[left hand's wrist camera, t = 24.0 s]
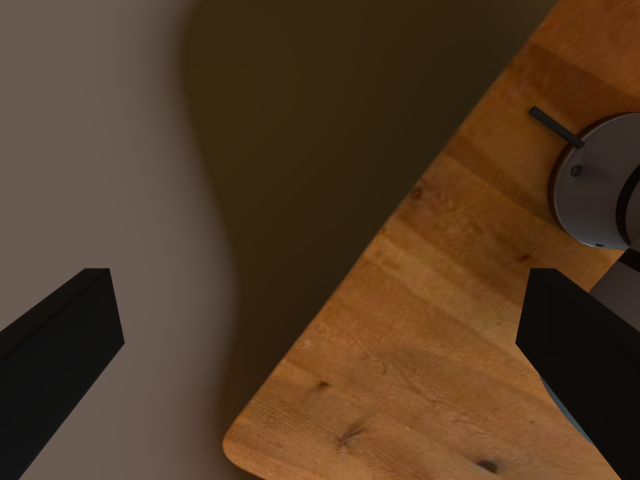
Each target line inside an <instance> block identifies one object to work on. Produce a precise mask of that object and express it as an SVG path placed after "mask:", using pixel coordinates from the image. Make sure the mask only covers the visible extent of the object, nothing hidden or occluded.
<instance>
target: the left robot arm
mask: <svg viewBox="0 0 640 480" xmlns="http://www.w3.org/2000/svg"><path fill="white" fill-rule="evenodd" d="M529 113H530V114H531V115H532V116H534V117H535V118H536V119H538V120H539V121H540V122H542V123H543V124H545V125H546V126H547V127H549V128H550V129H551V130H553V131H554V132H555V133H557V134H558V135H559V136H561V137H562V138H563V139H565V140H566V141H568V142H569V145H568V146H567V147H566V148H565V150H564V151H563V152H562V154H561V155H560V157H559V159H558V160H557V162H556V164H555V167H554V169H553V171H552V175H551V178H550V182H549V189H548V199H549V206H550V210H551V213H552V215H553V218H554V220H555V221H556V223H557V224H558V225H559V227H560V228H561V229H562V230H563V231H564V232H566V233H567V234H568V235H570V236H571V237H573V238H575V239H577V240H578V241H580V242H582V243H584V244H586V245H589V246H593V247H597V248H603V249H619V250H623V251H625V252H624V253H623V254H622V256H621V257H620V258H619V259H618V260H617V261H616V262H615V263H614V264H613V265H612V267H611V268H610V269H609V270H608V271H607V272H606V273H605V275H604V276H603V277H602V278H601V279H600V280H599V281H598V282H597V283H596V285H595V286H594V287H593V288H592V289H591V290H590V291H589V292H588V293H587V292H586V291H585V290H583V289H582V288H581V287H579V286H578V285H577V284H575V283H574V282H573V281H571V280H570V279H569V278H567V277H566V276H565V275H563V274H562V273H561V272H559V271H558V270H557V269H555V268H531V269H530V274H529V279H528V283H527V288H526V293H525V298H524V303H523V308H522V313H521V318H520V322H519V327H518V332H517V337H516V342H515V344H516V345H517V346H518V347H519V349H520V350H521V351H522V353H523V354H524V355H525V356H526V358H527V359H528V360H529V362H530V363H531V364H532V365H533V367H534V368H535V369H536V371H537V372H538V373H539V375H540V378H541V380H542V382H543V385H544V387H545V388H546V390H547V392H548V393H549V395H550V397H551V398H552V400H553V401H554V402H555V404H556V405H557V407H558V408H559V409H560V410H561V412H562V413H563V414H564V415H565V417H566V418H567V419H568V420H569V421H570V422H571V424H572V425H573V426H574V427H575V428H576V429H577V430H578V431H579V432H580V433H581V434H582V435H583V436H584V437H585V438H586V439H587V440H588V441H589V442H590V443H591V444H593V445H595V446H596V448H597V449H598V450H599V452H600V453H601V454H602V455H603V457H604V458H605V459H606V461H607V462H608V463H609V464H610V466H611V467H612V468H613V470H614V471H615V472H616V473H617V475H618V476H619V477H620V479H621V480H640V112H626V113H620V114H616V115H612V116H609V117H606V118H604V119H602V120H600V121H597V122H596V123H594V124H592V125H590V126H589V127H588V128H586V129H585V130H583V131H582V132H581V133H580V134H578V135H577V136H575V135H574V134H572V133H571V132H570V131H568V130H567V129H566V128H564V127H563V126H562V125H560V124H559V123H557V122H556V121H555V120H553V119H552V118H551V117H549V116H548V115H547V114H545V113H544V112H543V111H541V110H540V109H538V108H537V107H536V106H534V107H533V108H532V109H531V110H530V112H529ZM628 266H629V267H628ZM124 343H125V342H124V337H123V332H122V327H121V323H120V318H119V313H118V308H117V303H116V298H115V293H114V288H113V283H112V279H111V274H110V269H109V268H85V269H83V270H82V271H81V272H79V273H78V274H77V275H75V276H74V277H73V278H71V279H70V280H69V281H67V282H66V283H65V284H63V285H62V286H61V287H59V288H58V289H57V290H55V291H54V292H53V293H51V294H50V295H49V296H47V297H46V298H45V299H43V300H42V301H41V302H39V303H38V304H37V305H35V306H34V307H33V308H31V309H30V310H29V311H27V312H26V313H25V314H23V315H22V316H21V317H19V318H18V319H17V320H15V321H14V322H13V323H11V324H10V325H9V326H7V327H6V328H5V329H3V330H2V331H1V332H0V480H19V479H20V477H21V476H22V475H23V473H24V472H25V471H26V469H27V468H28V467H29V466H30V464H31V463H32V462H33V461H34V459H35V458H36V457H37V455H38V454H39V453H40V452H41V450H42V449H43V448H44V446H45V445H46V444H47V442H48V441H49V440H50V439H51V437H52V436H53V435H54V433H55V432H56V431H57V430H58V428H59V427H60V426H61V425H62V423H63V422H64V421H65V419H66V418H67V417H68V416H69V414H70V413H71V412H72V410H73V409H74V408H75V406H76V405H77V404H78V403H79V401H80V400H81V399H82V398H83V396H84V395H85V394H86V392H87V391H88V390H89V388H90V387H91V386H92V385H93V383H94V382H95V381H96V380H97V378H98V377H99V376H100V374H101V373H102V372H103V371H104V369H105V368H106V367H107V365H108V364H109V363H110V362H111V360H112V359H113V358H114V356H115V355H116V354H117V353H118V351H119V350H120V349H121V347H122V346H123V345H124Z"/></svg>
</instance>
